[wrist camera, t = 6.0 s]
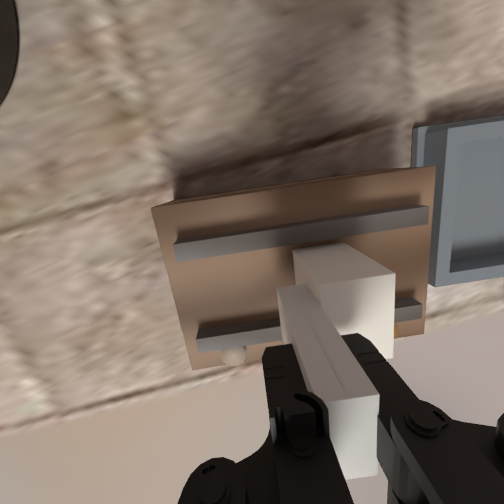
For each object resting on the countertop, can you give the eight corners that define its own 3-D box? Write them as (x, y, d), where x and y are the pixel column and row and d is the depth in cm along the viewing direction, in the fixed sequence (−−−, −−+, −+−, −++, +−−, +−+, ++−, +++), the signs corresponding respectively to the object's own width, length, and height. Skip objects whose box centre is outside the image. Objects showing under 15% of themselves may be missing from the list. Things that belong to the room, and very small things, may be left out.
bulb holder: (412, 128, 18) (440, 120, 15) (574, 105, 18) (628, 93, 16) (405, 280, 21) (428, 294, 19) (541, 259, 21) (581, 270, 19)
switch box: (173, 200, 18) (143, 210, 13) (384, 169, 19) (450, 164, 13) (202, 327, 22) (189, 381, 16) (382, 299, 22) (434, 343, 16)
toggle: (292, 249, 14) (319, 284, 10) (343, 241, 14) (395, 273, 10) (298, 310, 16) (325, 368, 11) (345, 302, 16) (392, 357, 11)
